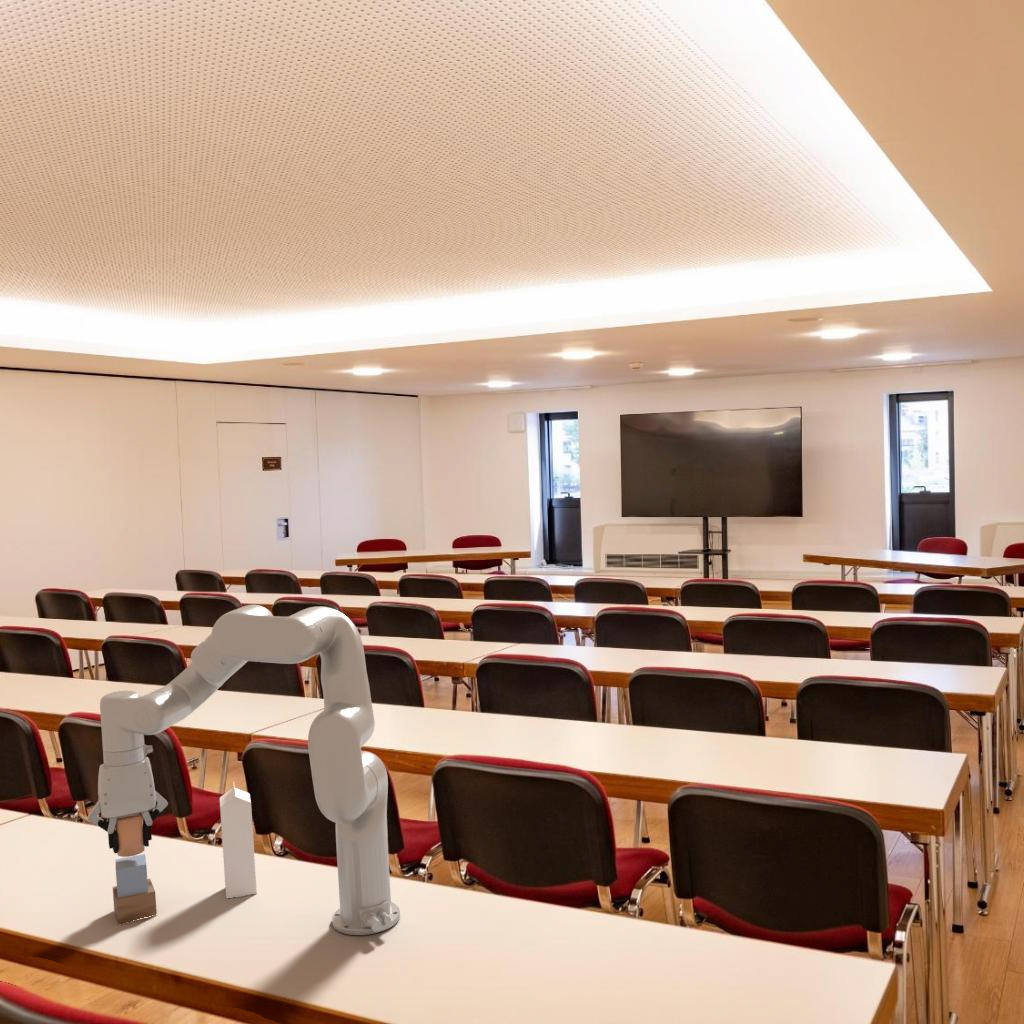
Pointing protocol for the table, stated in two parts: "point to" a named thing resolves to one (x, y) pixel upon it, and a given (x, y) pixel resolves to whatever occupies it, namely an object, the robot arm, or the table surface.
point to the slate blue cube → (131, 875)
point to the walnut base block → (135, 905)
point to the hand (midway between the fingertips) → (130, 846)
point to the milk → (238, 843)
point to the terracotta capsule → (130, 835)
